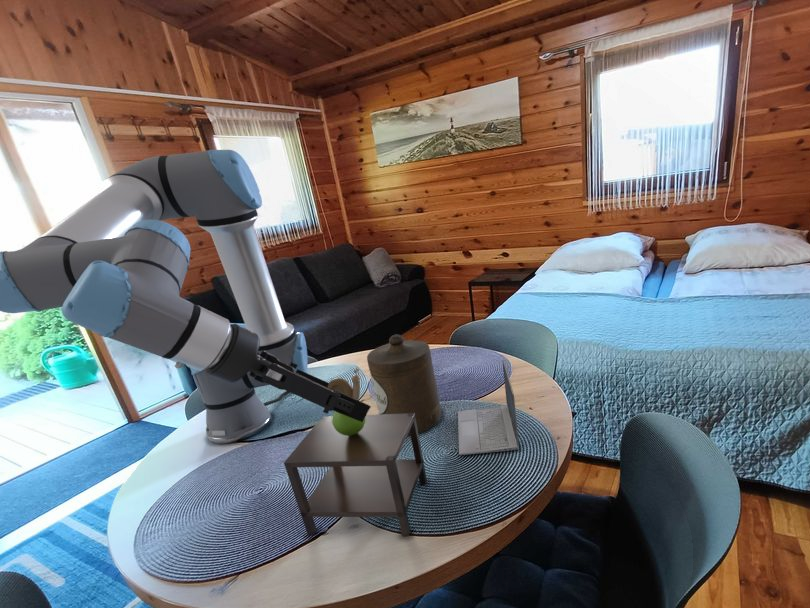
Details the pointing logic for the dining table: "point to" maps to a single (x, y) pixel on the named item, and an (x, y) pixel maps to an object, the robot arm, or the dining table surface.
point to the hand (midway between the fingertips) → (344, 401)
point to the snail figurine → (344, 422)
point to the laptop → (489, 426)
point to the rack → (359, 470)
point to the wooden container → (405, 381)
